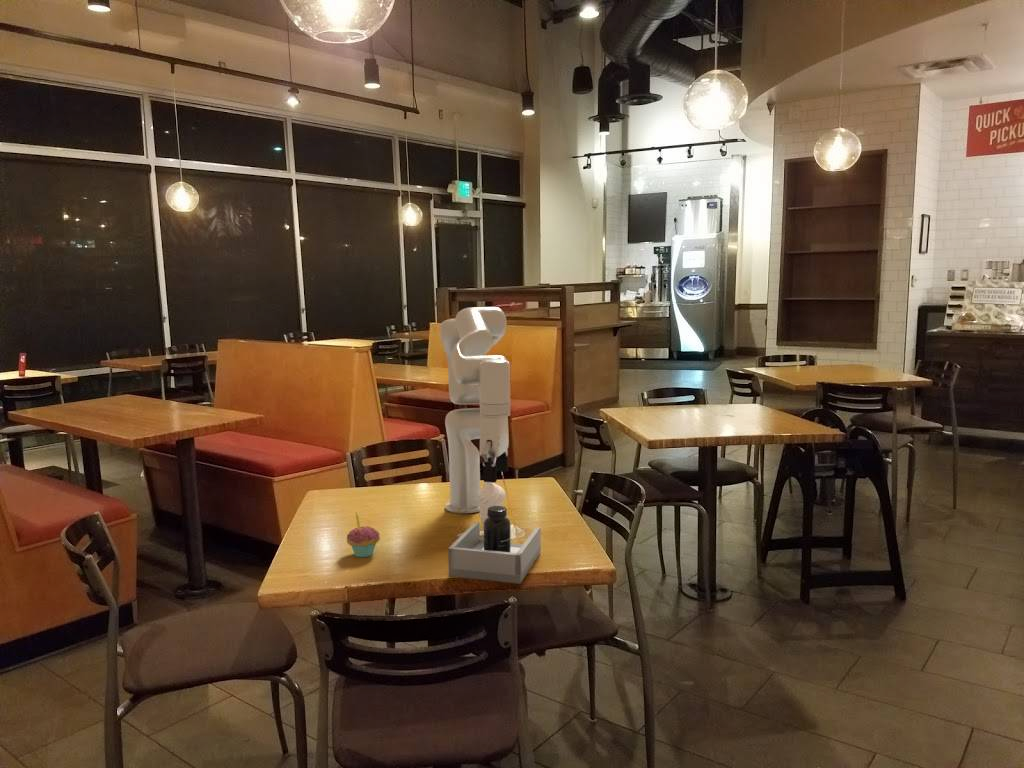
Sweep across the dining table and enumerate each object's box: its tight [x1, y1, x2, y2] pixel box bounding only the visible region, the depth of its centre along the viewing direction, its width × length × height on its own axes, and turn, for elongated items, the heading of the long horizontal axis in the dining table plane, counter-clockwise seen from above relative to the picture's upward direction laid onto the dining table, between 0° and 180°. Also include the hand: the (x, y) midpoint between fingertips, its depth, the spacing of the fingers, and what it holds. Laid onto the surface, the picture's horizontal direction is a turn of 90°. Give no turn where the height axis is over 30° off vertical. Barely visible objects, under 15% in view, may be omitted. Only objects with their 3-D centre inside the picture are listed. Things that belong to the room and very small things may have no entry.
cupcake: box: [346, 512, 381, 558], centre depth 189 cm, size 9×8×12 cm
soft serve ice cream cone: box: [476, 482, 506, 532], centre depth 203 cm, size 8×8×16 cm
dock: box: [447, 521, 542, 585], centre depth 181 cm, size 20×18×7 cm
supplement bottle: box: [483, 505, 512, 552], centre depth 182 cm, size 7×7×12 cm
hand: (496, 476), depth 180 cm, fingers open, 9 cm apart
